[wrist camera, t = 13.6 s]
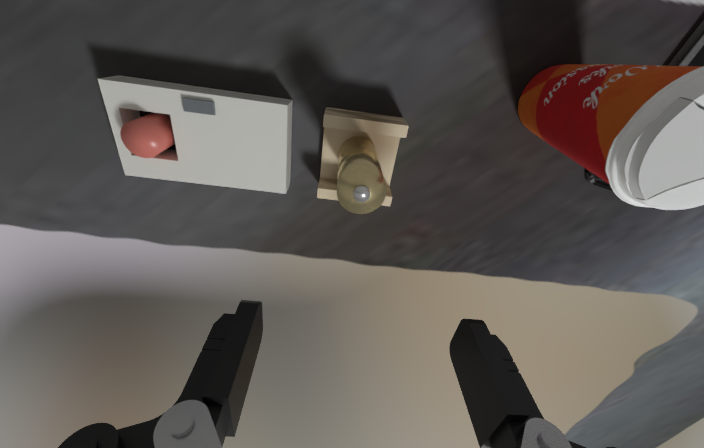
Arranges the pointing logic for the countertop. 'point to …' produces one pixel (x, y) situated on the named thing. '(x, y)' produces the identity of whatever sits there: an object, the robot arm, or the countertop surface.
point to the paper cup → (625, 127)
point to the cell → (359, 176)
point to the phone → (694, 52)
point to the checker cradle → (206, 133)
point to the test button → (148, 135)
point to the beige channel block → (363, 124)
